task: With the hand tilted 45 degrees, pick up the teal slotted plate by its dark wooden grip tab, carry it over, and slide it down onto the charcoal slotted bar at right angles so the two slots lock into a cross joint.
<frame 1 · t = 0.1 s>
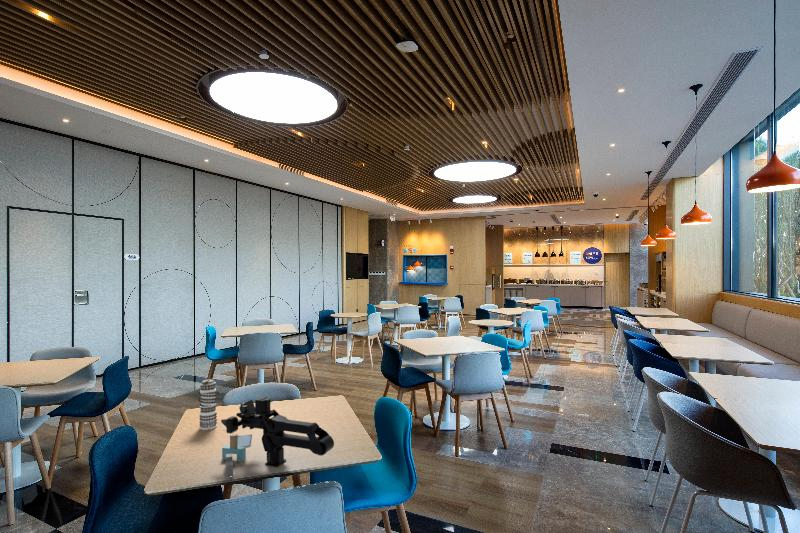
hand: (229, 417, 191), 17 cm above the table, tool horizontal, fingers open, 9 cm apart
decorative candle: (208, 427, 227), on the table
slotted bar: (229, 471, 174), on the table
slotted plate: (233, 459, 186), on the table
smartphone: (243, 443, 206), on the table
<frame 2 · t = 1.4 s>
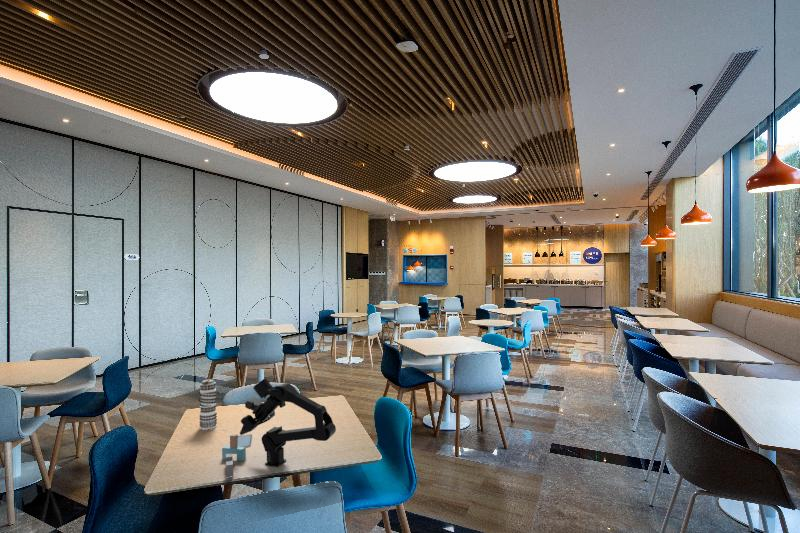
hand: (246, 430, 185), 13 cm above the table, tool tilted 45°, fingers open, 9 cm apart
nothing on the table moved.
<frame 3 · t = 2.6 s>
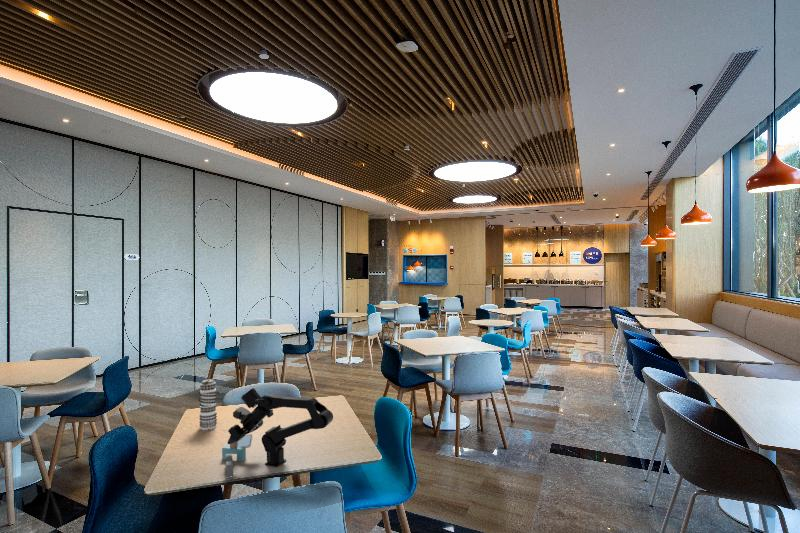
hand: (234, 439, 186), 9 cm above the table, tool tilted 45°, fingers open, 9 cm apart
nothing on the table moved.
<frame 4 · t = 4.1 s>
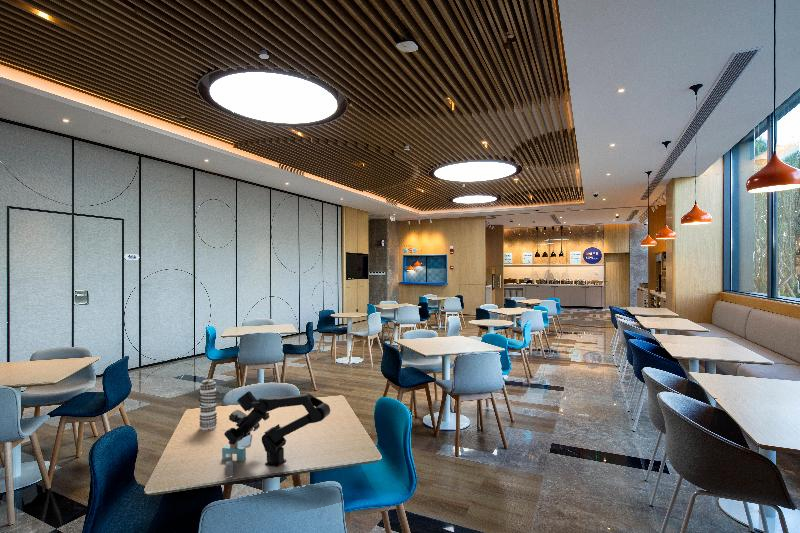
hand: (231, 442, 187), 7 cm above the table, tool tilted 45°, fingers closed on slotted plate, 2 cm apart
slotted plate: (233, 459, 186), on the table, touching gripper
everything else where it was.
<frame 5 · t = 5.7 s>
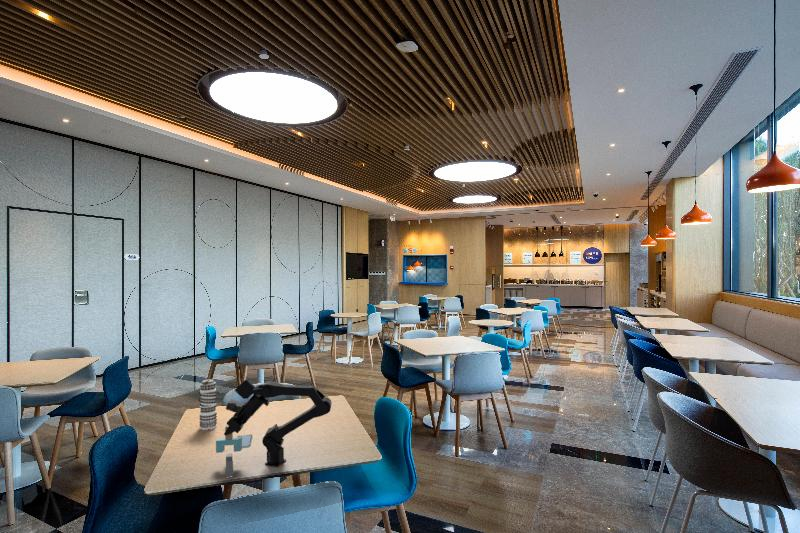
hand: (225, 433, 180), 13 cm above the table, tool tilted 45°, fingers closed on slotted plate
slotted plate: (229, 450, 180), point 6 cm above the table, touching gripper
everything else where it was.
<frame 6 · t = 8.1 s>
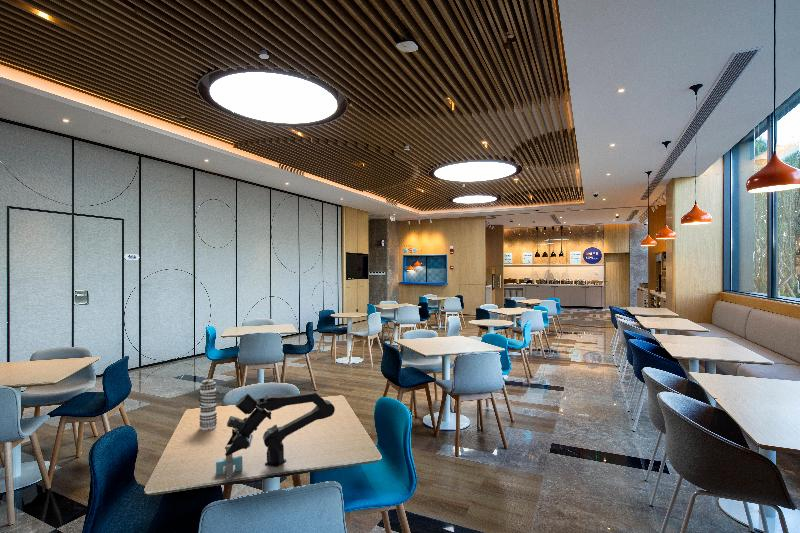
hand: (225, 452, 174), 8 cm above the table, tool tilted 45°, fingers open, 7 cm apart
slotted plate: (229, 471, 174), on the table
everything else where it was.
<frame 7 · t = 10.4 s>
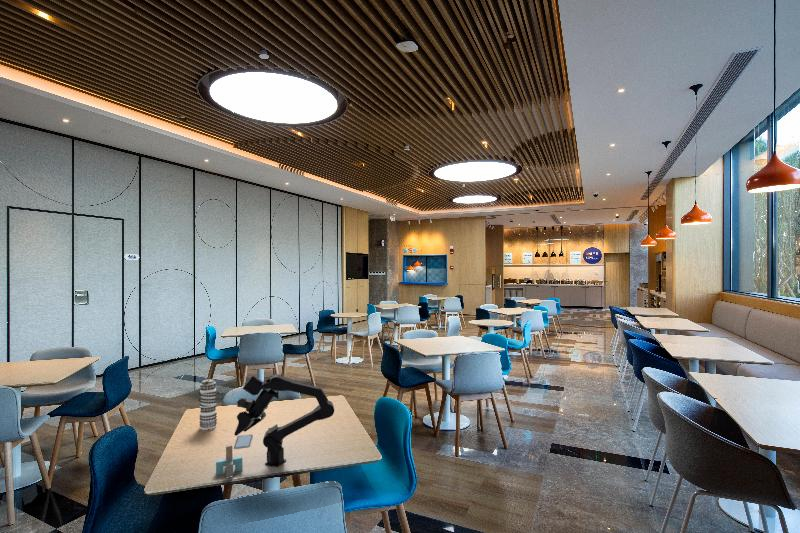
hand: (239, 433, 179), 14 cm above the table, tool tilted 35°, fingers open, 9 cm apart
nothing on the table moved.
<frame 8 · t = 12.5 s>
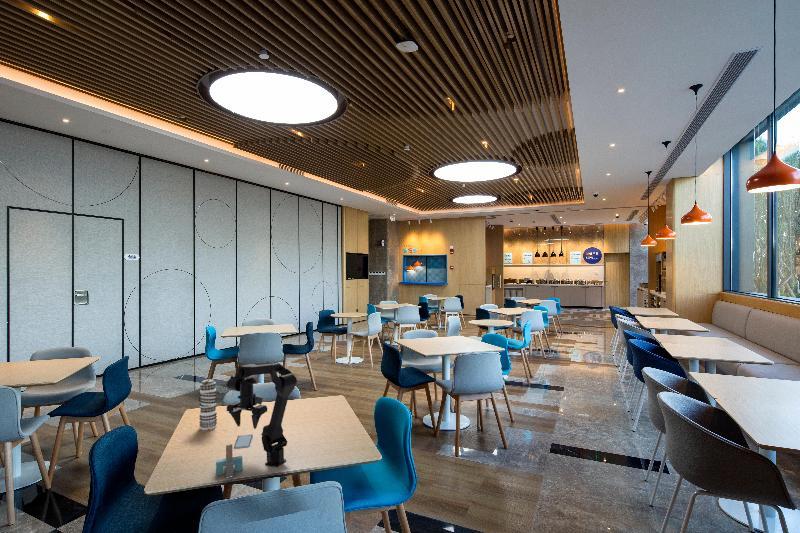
hand: (246, 427, 191), 12 cm above the table, tool pointing down, fingers open, 9 cm apart
nothing on the table moved.
at the end: slotted plate 0.0 cm from the slotted bar (horizontally); slotted plate on the table; slotted plate tilted 0° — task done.
